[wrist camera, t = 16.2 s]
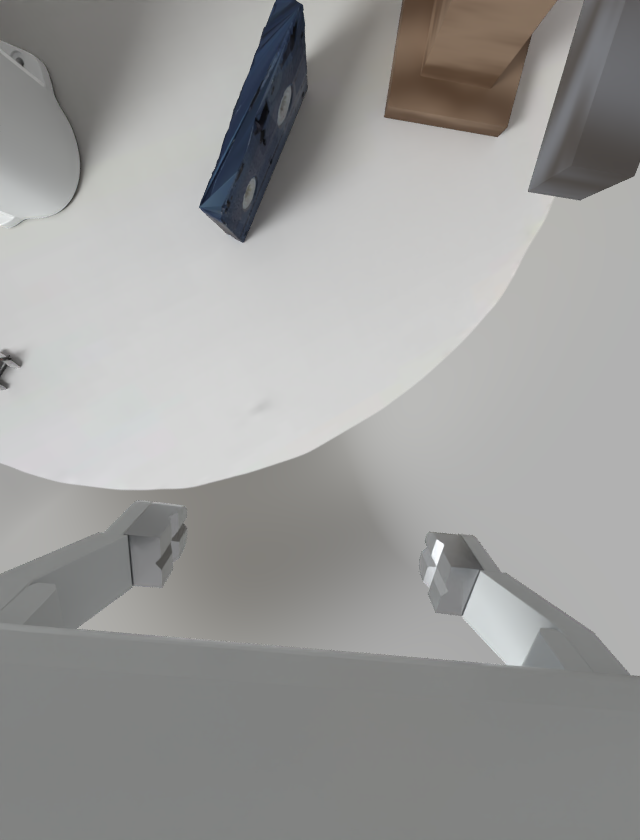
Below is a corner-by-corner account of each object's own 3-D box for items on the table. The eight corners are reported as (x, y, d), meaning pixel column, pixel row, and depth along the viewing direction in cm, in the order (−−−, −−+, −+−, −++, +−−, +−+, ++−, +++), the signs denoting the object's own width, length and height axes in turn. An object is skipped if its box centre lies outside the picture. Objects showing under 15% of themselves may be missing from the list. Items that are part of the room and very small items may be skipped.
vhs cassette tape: (289, 73, 35) (279, -18, 25) (312, 90, 35) (310, 7, 26) (222, 231, 40) (193, 205, 30) (243, 244, 40) (220, 222, 31)
